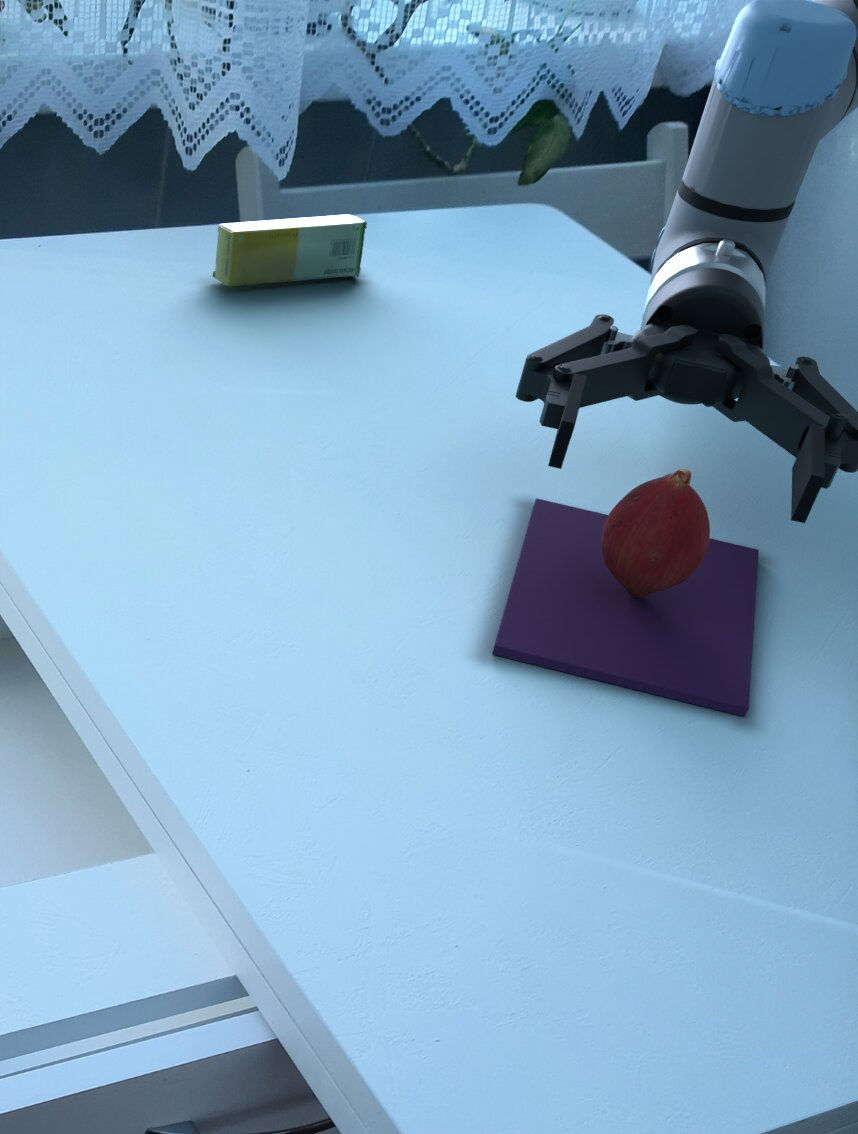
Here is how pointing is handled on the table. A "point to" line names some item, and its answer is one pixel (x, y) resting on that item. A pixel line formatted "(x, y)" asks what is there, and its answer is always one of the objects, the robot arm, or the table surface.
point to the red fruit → (656, 535)
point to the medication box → (289, 249)
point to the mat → (631, 615)
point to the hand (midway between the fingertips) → (683, 472)
